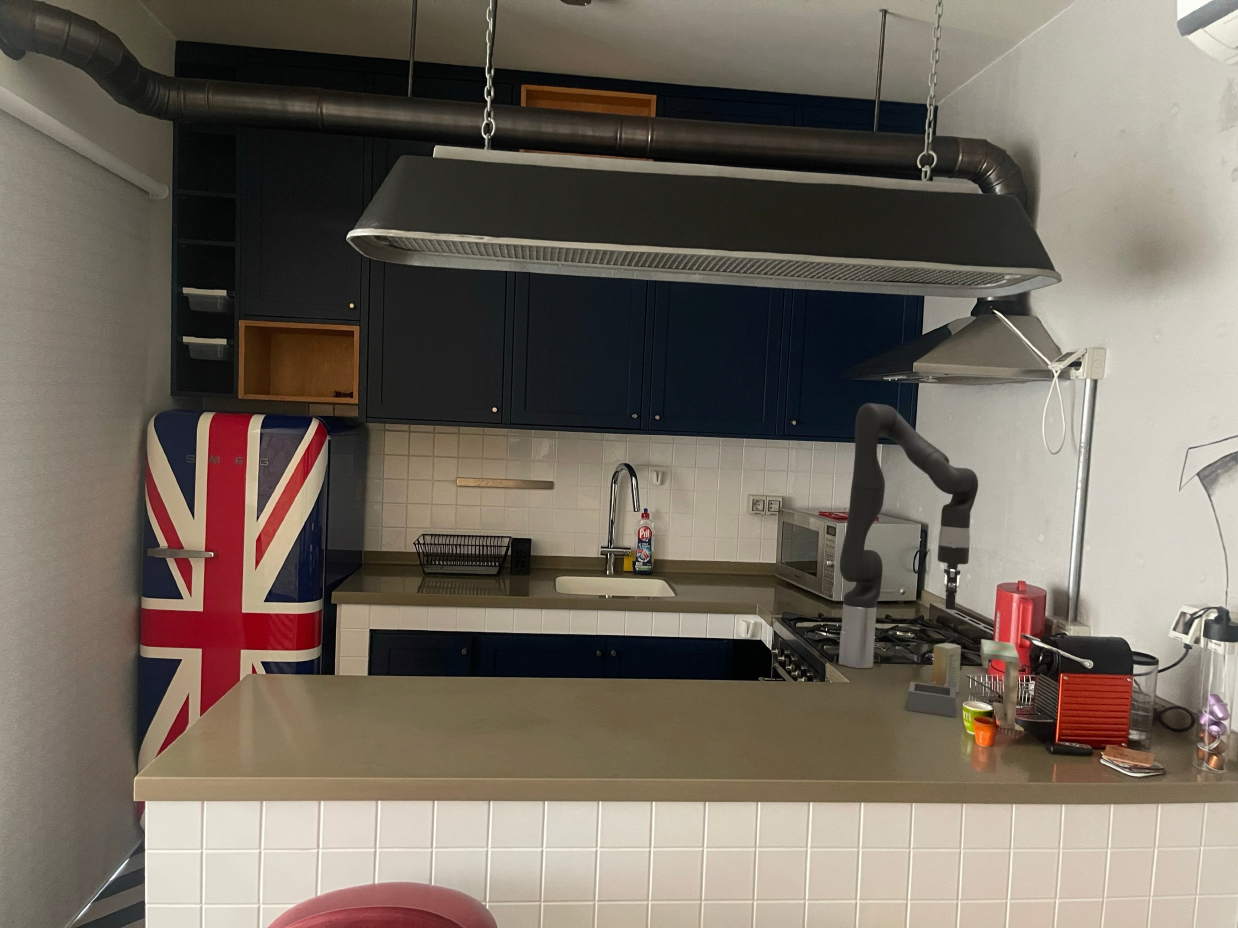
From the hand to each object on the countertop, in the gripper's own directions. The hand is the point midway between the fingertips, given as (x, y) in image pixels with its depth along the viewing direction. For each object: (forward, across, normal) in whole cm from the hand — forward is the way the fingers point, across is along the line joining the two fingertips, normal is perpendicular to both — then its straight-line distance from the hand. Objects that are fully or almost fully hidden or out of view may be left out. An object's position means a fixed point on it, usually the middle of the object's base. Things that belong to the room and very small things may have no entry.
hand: (949, 606), depth 224 cm
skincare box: (+22, 0, 0) cm, 22 cm away
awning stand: (+22, +18, +12) cm, 31 cm away
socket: (+22, +19, -3) cm, 29 cm away
